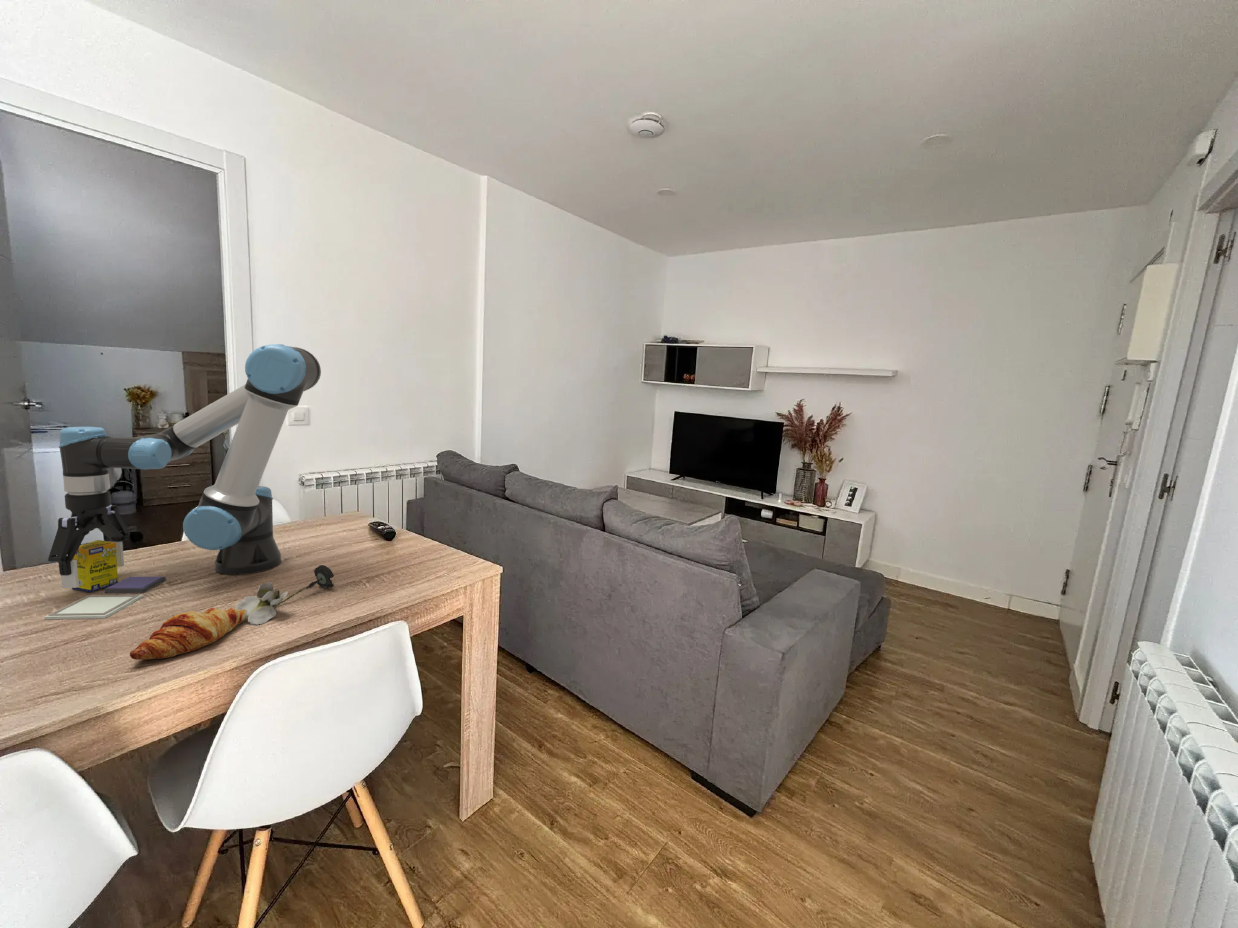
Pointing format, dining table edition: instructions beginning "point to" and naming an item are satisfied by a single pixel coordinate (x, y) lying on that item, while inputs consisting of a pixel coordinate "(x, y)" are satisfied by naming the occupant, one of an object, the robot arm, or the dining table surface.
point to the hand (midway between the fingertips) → (95, 576)
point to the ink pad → (135, 585)
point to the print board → (94, 607)
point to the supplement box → (96, 565)
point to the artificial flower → (277, 597)
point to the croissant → (188, 633)
